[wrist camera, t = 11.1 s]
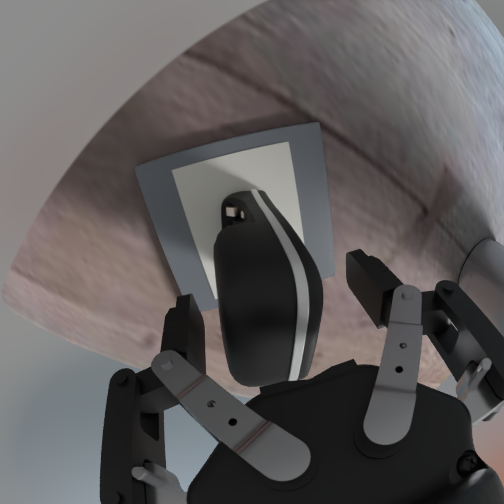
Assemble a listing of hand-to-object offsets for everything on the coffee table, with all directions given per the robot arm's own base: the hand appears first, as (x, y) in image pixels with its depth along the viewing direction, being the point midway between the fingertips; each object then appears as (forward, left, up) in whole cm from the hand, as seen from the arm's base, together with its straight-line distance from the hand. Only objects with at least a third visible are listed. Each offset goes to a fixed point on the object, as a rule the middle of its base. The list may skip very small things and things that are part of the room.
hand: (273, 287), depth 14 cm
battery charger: (+1, 0, -8) cm, 8 cm away
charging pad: (0, 0, -8) cm, 8 cm away
